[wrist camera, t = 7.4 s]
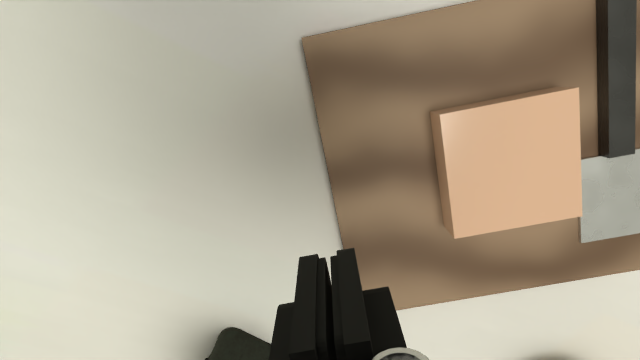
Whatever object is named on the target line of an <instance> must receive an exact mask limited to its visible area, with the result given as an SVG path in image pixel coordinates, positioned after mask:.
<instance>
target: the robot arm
mask: <svg viewBox="0 0 640 360" xmlns="http://www.w3.org/2000/svg"><path fill="white" fill-rule="evenodd" d="M330 259H331V281H332V285H331V281H330V276H329V272H328V267H327V262H326V259H325V258H320V259H319V257H318V254H315V255H309V256H304V257H300V258H299V265H298V274H297V283H296V292H295V301H294V302H293V303H287V304H281V305H279V306H278V309H277V315H276V320H275V326H274V331H273V337H272V343H271V348H270V354H269V360H429V359H428V358H427V356H425V355H423V354H422V353H420V352H419V351H416V350H413V349H410V348H407V347H406V343H405V340H404V337H403V333H402V330H401V326H400V323H399V320H398V316H397V313H396V310H395V306H394V303H393V299H392V296H391V293H390V289H389V287H388V286H387V287H381V288H375V289H369V290H363V291H362V285H361V280H360V275H359V270H358V265H357V259H356V254H355V249H354V248H349V249H343V250H338V251H337V256H331V257H330Z"/></svg>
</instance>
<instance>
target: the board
mask: <svg viewBox="0 0 640 360" xmlns="http://www.w3.org/2000/svg"><path fill="white" fill-rule="evenodd" d="M302 43H303V48H304V53H305V58H306V63H307V68H308V73H309V78H310V83H311V88H312V93H313V98H314V103H315V109H316V114H317V119H318V124H319V129H320V134H321V139H322V144H323V149H324V154H325V159H326V164H327V169H328V174H329V179H330V184H331V189H332V194H333V199H334V204H335V209H336V214H337V219H338V224H339V229H340V234H341V239H342V244H343V249H349V248H354V249H355V254H356V259H357V265H358V270H359V275H360V280H361V285H362V291H363V290H369V289H375V288H381V287H387V286H388V287H389V289H390V293H391V296H392V299H393V303H394V306H395V310H402V309H408V308H414V307H420V306H426V305H432V304H438V303H444V302H449V301H455V300H461V299H467V298H473V297H479V296H485V295H491V294H497V293H503V292H509V291H515V290H521V289H527V288H533V287H539V286H545V285H551V284H557V283H563V282H569V281H575V280H581V279H587V278H593V277H599V276H605V275H611V274H617V273H623V272H629V271H635V270H640V233H638V234H632V235H626V236H620V237H615V238H609V239H603V240H597V241H591V242H586V243H580V242H579V225H578V217H575V218H570V219H564V220H559V221H553V222H547V223H542V224H536V225H530V226H525V227H519V228H513V229H508V230H502V231H496V232H491V233H485V234H479V235H474V236H468V237H462V238H457V239H454V238H453V236H452V235H451V234H450V233H449V232H448V230H447V229H446V228H445V227H444V222H443V214H442V206H441V198H440V190H439V182H438V174H437V166H436V158H435V150H434V142H433V134H432V126H431V118H430V112H431V111H436V110H441V109H446V108H451V107H456V106H461V105H466V104H471V103H477V102H482V101H487V100H492V99H497V98H502V97H507V96H512V95H517V94H522V93H527V92H532V91H537V90H542V89H547V88H552V87H579V105H580V142H581V159H582V158H587V157H593V156H598V111H597V46H596V0H477V1H472V2H467V3H463V4H458V5H453V6H449V7H444V8H439V9H434V10H430V11H425V12H420V13H416V14H411V15H406V16H402V17H397V18H392V19H388V20H383V21H378V22H374V23H369V24H364V25H360V26H355V27H350V28H346V29H341V30H336V31H332V32H327V33H322V34H318V35H313V36H308V37H303V38H302ZM636 148H640V0H637V13H636V119H635V149H636Z"/></svg>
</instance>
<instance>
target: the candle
mask: <svg viewBox="0 0 640 360" xmlns="http://www.w3.org/2000/svg"><path fill="white" fill-rule="evenodd" d="M270 348H271V345H270V344H268V343H266V342H264V341H262V340H260V339H258V338H256V337H254V336H252V335H250V334H248V333H246V332H244V331H242V330H239V329H237V328H228V329H225V330H223V331H222V332H221V333H220V335H219V337H218V339H217V342H216V344H215V347H214V349H213V351H212V353H211V355H210V356H209V358H206V359H205V360H269V354H270Z"/></svg>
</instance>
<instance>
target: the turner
mask: <svg viewBox="0 0 640 360" xmlns="http://www.w3.org/2000/svg"><path fill="white" fill-rule="evenodd" d="M636 13H637V0H596V46H597V111H598V156H593V157H587V158H582V159H581V179H582V216H581V217H578V225H579V242H580V243H586V242H591V241H597V240H603V239H609V238H615V237H620V236H626V235H632V234H638V233H640V148H636V149H635V119H636Z"/></svg>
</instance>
